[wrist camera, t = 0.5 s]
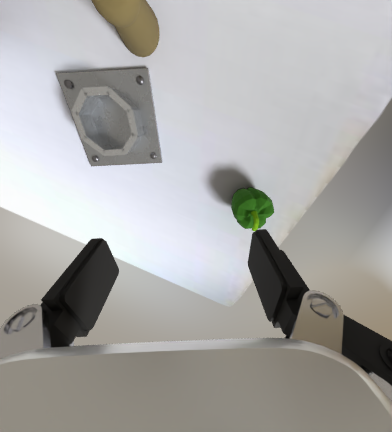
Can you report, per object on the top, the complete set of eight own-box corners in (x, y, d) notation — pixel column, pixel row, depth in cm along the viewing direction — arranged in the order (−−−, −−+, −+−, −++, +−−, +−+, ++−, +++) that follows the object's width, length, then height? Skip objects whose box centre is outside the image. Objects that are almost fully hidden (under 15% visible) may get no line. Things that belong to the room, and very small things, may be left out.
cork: (118, 49, 26) (75, 10, 16) (118, -9, 23) (66, -99, 13) (156, 62, 26) (136, 33, 17) (162, 8, 23) (141, -64, 14)
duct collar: (58, 74, 27) (35, 66, 23) (148, 69, 27) (140, 60, 23) (92, 165, 35) (79, 171, 31) (162, 161, 35) (158, 167, 31)
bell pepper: (239, 175, 37) (253, 193, 28) (268, 190, 39) (290, 210, 30) (220, 205, 40) (228, 229, 32) (248, 217, 42) (262, 242, 34)
